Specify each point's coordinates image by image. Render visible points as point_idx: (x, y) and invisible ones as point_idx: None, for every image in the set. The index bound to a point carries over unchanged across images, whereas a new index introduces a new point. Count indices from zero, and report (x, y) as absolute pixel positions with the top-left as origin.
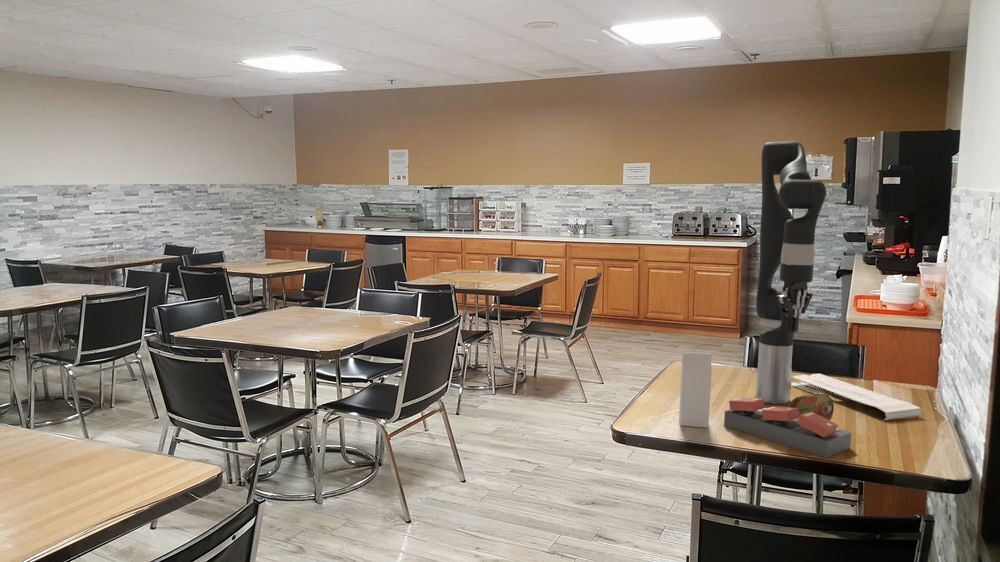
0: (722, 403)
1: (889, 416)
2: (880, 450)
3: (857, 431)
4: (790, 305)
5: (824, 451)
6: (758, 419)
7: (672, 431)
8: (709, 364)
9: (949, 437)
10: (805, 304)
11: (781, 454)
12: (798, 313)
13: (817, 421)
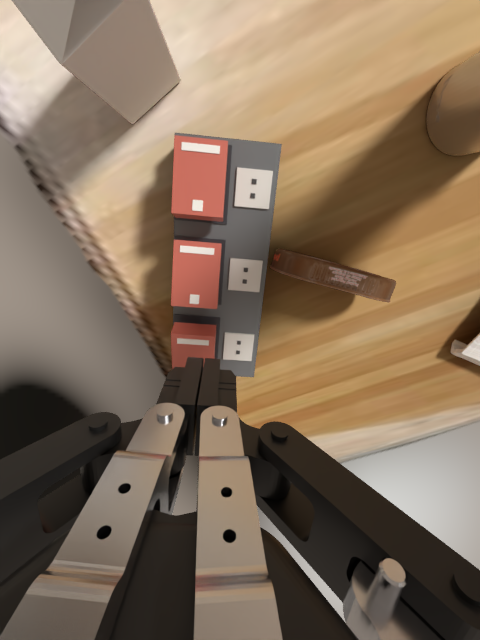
0: (348, 19)
1: (456, 354)
2: (279, 392)
3: (352, 337)
4: (30, 557)
5: None
6: (182, 228)
7: (39, 73)
8: (63, 22)
9: (419, 429)
10: (296, 549)
11: (130, 306)
12: (197, 481)
13: (181, 361)
